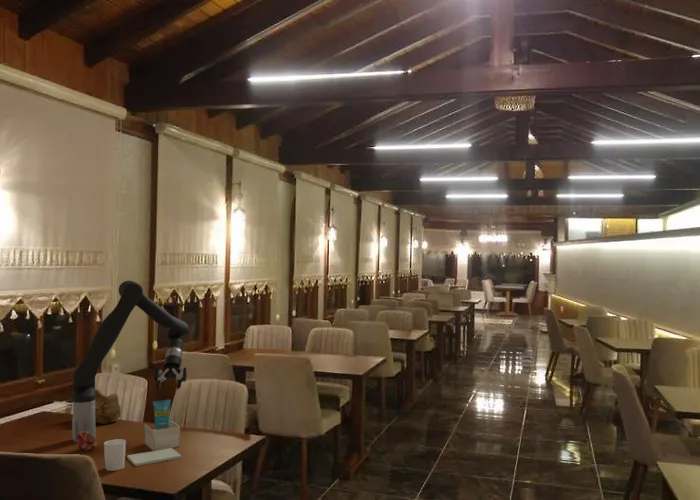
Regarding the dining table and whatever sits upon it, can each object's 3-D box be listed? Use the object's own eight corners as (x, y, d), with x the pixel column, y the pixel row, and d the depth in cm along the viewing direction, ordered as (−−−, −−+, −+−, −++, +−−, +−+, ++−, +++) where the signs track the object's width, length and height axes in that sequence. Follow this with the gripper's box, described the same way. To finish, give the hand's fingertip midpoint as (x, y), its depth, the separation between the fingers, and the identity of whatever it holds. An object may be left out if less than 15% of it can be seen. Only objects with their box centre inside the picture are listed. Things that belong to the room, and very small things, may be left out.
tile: (135, 466, 244) (135, 463, 244) (127, 457, 255) (127, 455, 255) (181, 457, 254) (181, 455, 254) (171, 450, 265) (171, 447, 265)
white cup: (107, 465, 246) (107, 439, 246) (128, 464, 247) (128, 438, 247) (101, 472, 238) (101, 445, 238) (122, 471, 239) (122, 444, 239)
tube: (155, 448, 268) (154, 402, 269) (151, 445, 272) (151, 400, 273) (172, 445, 272) (172, 400, 273) (169, 442, 276) (168, 398, 277)
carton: (153, 451, 263) (153, 430, 264) (144, 443, 275) (144, 424, 275) (180, 446, 270) (180, 426, 270) (170, 439, 281) (170, 420, 281)
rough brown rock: (64, 425, 312) (62, 395, 311) (92, 414, 327) (90, 386, 326) (97, 431, 302) (95, 401, 300) (124, 420, 316) (123, 391, 315)
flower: (70, 450, 260) (82, 434, 261) (68, 440, 268) (80, 424, 269) (91, 460, 265) (102, 444, 266) (88, 450, 273) (100, 434, 274)
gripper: (156, 354, 293) (150, 384, 281) (187, 353, 294) (182, 383, 282) (159, 364, 298) (153, 393, 286) (190, 363, 299) (185, 392, 287)
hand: (168, 388), depth 284 cm, fingers open, 8 cm apart
